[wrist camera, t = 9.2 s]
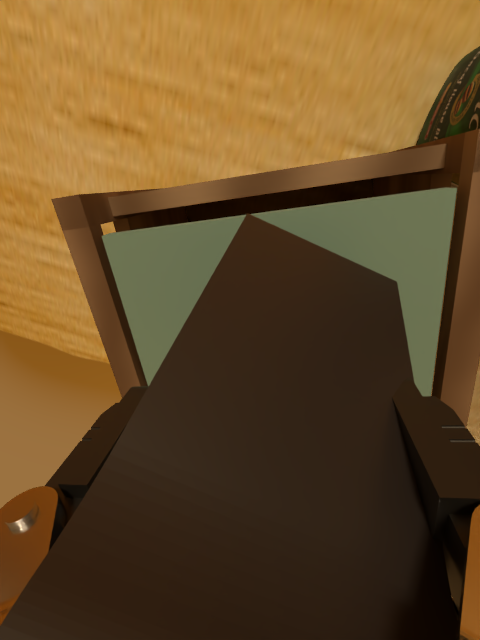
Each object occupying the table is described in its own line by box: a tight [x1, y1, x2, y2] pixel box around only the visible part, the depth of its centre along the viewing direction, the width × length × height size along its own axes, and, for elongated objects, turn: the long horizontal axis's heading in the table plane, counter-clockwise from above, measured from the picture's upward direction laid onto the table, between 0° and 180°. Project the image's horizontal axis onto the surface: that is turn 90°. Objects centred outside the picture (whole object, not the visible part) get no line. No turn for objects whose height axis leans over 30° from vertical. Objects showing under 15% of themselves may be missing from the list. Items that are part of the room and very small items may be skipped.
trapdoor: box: [102, 187, 457, 396], centre depth 19 cm, size 16×22×3 cm
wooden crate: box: [52, 129, 480, 429], centre depth 25 cm, size 20×20×16 cm
